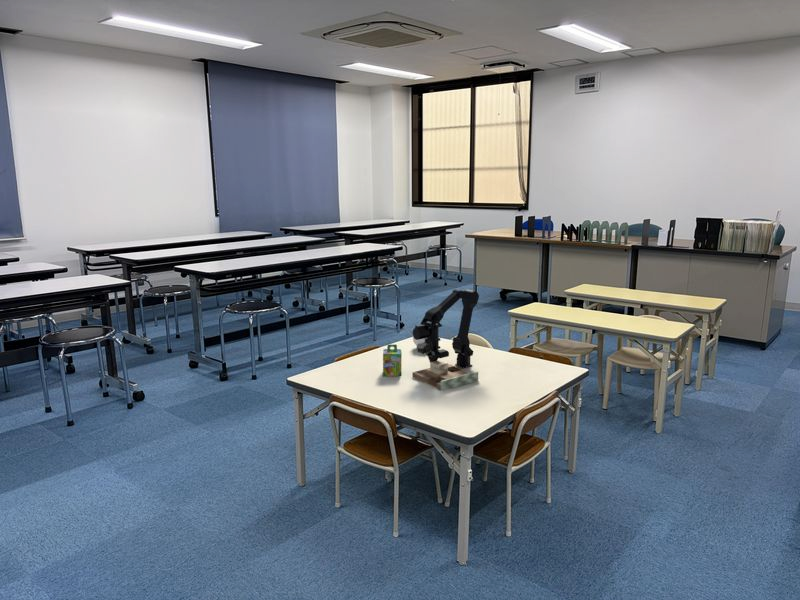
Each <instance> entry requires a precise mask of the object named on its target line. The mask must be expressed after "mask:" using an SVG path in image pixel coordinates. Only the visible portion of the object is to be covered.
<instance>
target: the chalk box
mask: <svg viewBox="0 0 800 600" xmlns="http://www.w3.org/2000/svg"><path fill="white" fill-rule="evenodd" d="M386 347H387V349H386V348H385V349H383V354H382V376H383V377H396V378H397V377H400V378H401V377H402V355H403V354H402V349H400V348H398V345H397V344H395V343H393V344H387V346H386Z"/></svg>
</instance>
